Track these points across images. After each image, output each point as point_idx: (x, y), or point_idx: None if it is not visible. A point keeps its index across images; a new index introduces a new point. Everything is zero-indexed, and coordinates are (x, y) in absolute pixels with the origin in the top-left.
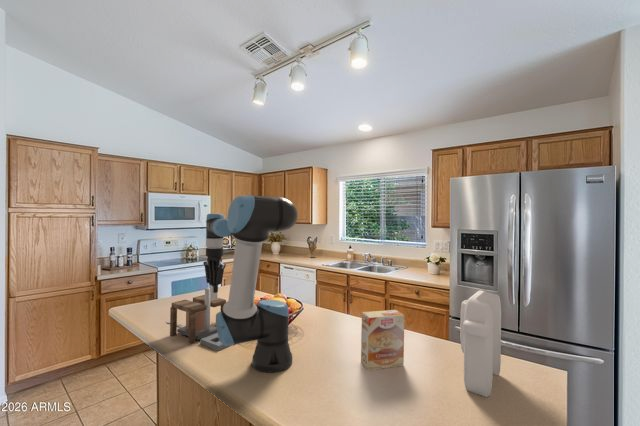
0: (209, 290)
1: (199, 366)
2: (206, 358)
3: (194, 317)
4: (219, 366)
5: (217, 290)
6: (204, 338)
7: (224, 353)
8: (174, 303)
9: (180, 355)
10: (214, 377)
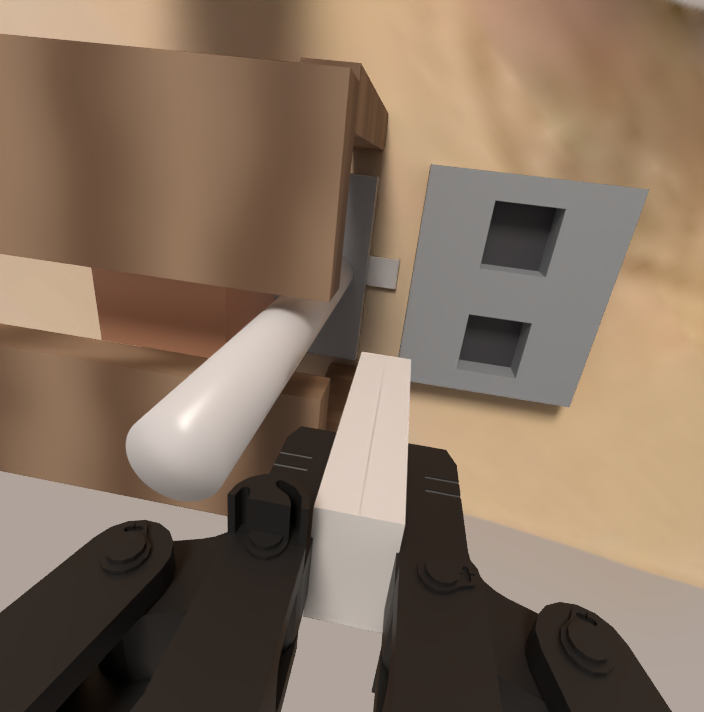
0: (239, 443)
1: (573, 532)
2: (553, 473)
3: None
4: (669, 507)
5: (455, 485)
6: None
7: (613, 404)
8: (28, 473)
9: None
10: (701, 573)
